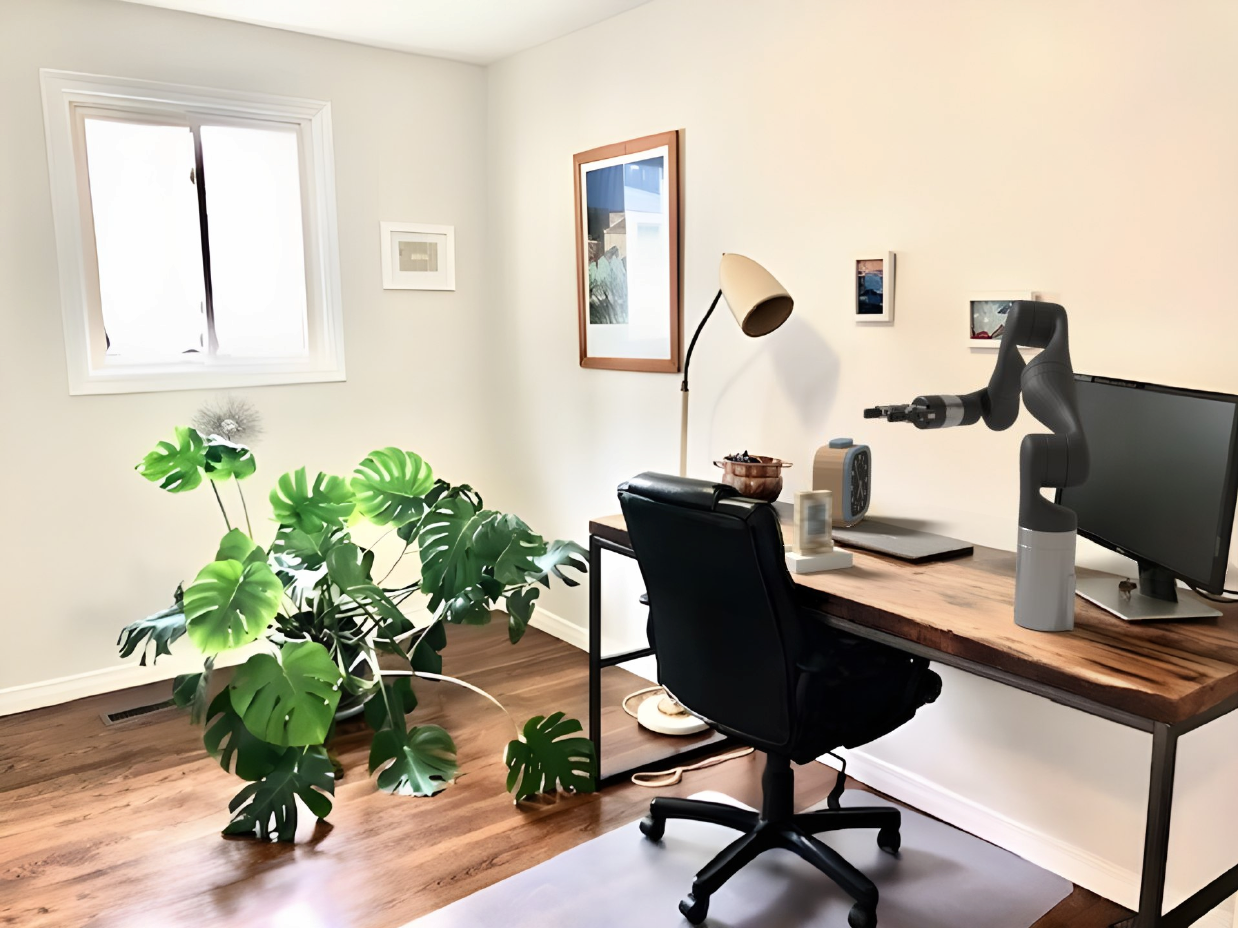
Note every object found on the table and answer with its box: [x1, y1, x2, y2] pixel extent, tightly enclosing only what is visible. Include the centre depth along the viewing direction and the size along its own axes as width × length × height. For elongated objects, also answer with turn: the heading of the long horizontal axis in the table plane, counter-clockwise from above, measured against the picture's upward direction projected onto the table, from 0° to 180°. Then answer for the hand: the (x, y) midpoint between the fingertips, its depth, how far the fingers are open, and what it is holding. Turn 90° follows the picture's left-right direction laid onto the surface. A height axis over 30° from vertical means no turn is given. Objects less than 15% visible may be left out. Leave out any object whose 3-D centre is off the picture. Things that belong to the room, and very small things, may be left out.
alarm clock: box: [811, 437, 872, 528], centre depth 250 cm, size 21×10×22 cm, turn 150°
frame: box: [791, 490, 833, 556], centre depth 206 cm, size 8×4×13 cm, turn 111°
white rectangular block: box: [785, 539, 854, 575], centre depth 207 cm, size 14×8×4 cm, turn 111°
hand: (876, 415), depth 208 cm, fingers open, 8 cm apart
